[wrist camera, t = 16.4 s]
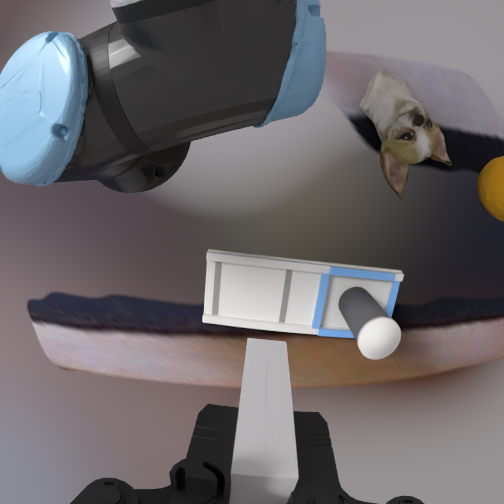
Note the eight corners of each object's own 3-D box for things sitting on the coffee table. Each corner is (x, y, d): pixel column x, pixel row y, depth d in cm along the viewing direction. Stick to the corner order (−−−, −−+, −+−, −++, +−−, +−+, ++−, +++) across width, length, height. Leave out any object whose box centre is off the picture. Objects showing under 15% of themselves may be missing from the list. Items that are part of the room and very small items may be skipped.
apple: (508, 205, 37) (545, 212, 28) (472, 225, 38) (509, 237, 29) (495, 150, 35) (532, 148, 26) (456, 167, 36) (494, 167, 27)
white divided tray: (208, 248, 40) (206, 251, 39) (400, 270, 40) (405, 273, 38) (204, 319, 43) (201, 324, 41) (384, 335, 42) (387, 340, 40)
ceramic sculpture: (420, 49, 25) (480, 165, 29) (391, 67, 34) (443, 162, 37) (348, 84, 27) (418, 209, 30) (330, 99, 35) (388, 198, 39)
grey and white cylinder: (341, 284, 40) (364, 318, 30) (374, 287, 40) (405, 319, 29) (334, 318, 41) (354, 359, 31) (367, 319, 41) (394, 359, 30)
